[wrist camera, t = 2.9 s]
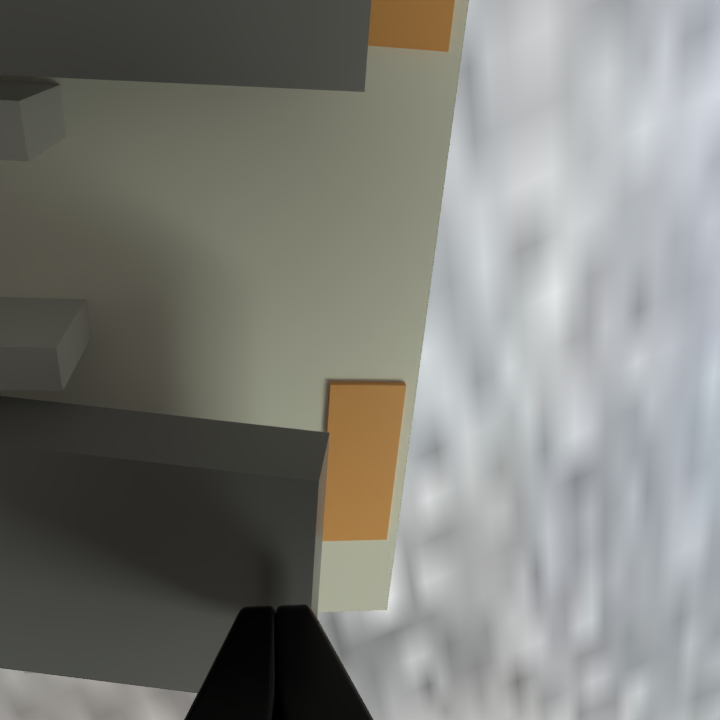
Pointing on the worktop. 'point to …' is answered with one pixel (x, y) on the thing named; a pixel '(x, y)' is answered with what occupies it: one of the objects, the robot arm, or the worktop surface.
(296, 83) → the block
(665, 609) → the worktop surface
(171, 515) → the block
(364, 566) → the switch panel
